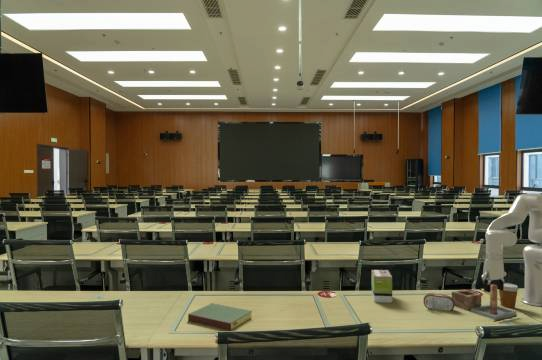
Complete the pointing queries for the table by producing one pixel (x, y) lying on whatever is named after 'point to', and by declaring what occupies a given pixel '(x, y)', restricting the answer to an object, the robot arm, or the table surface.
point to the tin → (439, 302)
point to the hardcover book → (220, 316)
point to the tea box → (382, 286)
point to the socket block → (466, 299)
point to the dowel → (493, 299)
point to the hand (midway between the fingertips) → (493, 290)
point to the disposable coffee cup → (508, 295)
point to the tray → (500, 314)
